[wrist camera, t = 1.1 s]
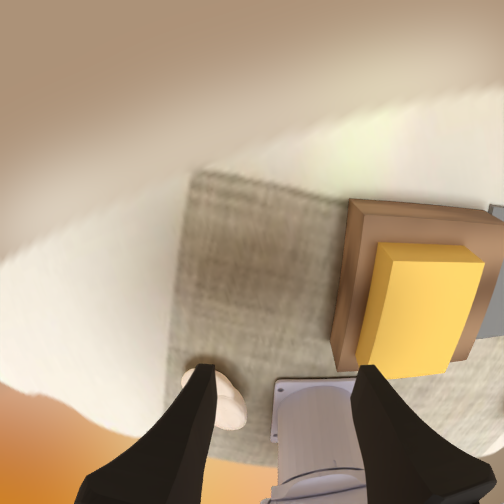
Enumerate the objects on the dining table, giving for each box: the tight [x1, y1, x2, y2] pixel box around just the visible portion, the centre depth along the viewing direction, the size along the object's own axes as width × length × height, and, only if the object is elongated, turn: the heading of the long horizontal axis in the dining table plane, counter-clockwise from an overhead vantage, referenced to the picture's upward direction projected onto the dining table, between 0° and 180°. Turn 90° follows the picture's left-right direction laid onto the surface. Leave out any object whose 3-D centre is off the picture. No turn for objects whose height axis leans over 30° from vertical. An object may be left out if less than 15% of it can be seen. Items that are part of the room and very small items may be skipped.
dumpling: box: [181, 368, 247, 430], centre depth 24 cm, size 7×5×4 cm
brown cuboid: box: [330, 199, 504, 372], centre depth 20 cm, size 11×11×4 cm
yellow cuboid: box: [355, 242, 485, 379], centre depth 17 cm, size 8×6×2 cm
